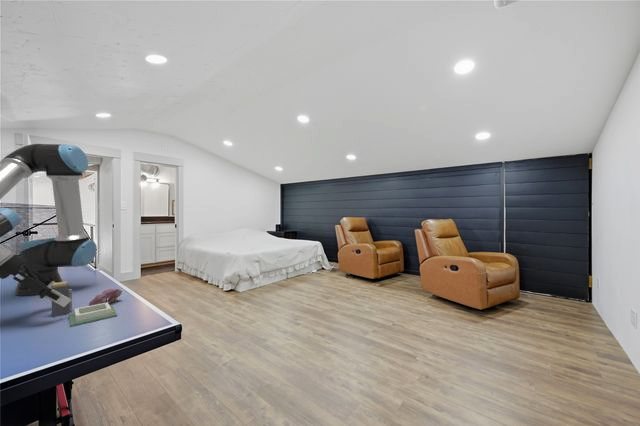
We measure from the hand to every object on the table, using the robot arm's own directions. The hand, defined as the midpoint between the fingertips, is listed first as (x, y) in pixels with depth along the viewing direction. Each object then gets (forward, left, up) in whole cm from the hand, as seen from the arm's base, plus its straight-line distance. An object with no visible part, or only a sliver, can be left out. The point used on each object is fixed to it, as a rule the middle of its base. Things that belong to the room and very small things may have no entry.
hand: (67, 298), depth 99 cm
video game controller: (-1, +11, -5) cm, 12 cm away
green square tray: (+11, +6, -5) cm, 13 cm away
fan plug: (0, -2, -5) cm, 5 cm away
